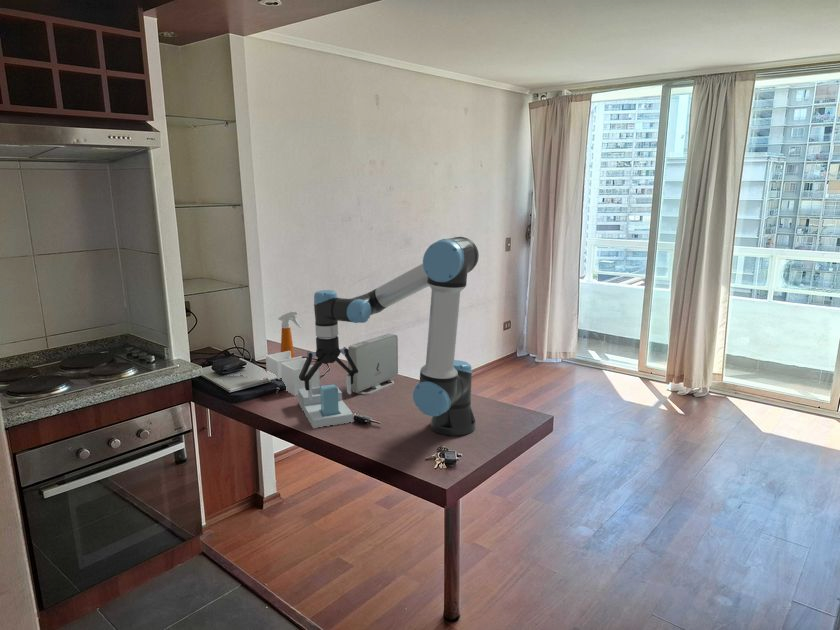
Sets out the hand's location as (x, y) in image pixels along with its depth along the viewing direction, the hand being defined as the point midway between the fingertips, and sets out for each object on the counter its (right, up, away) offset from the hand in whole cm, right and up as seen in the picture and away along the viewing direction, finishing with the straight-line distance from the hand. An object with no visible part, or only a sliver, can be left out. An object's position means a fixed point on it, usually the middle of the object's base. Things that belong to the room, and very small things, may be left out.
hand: (330, 396), depth 195 cm
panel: (-3, -7, +8) cm, 12 cm away
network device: (+12, -2, +35) cm, 37 cm away
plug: (0, -9, +2) cm, 9 cm away
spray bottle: (-27, +4, +59) cm, 65 cm away
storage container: (-21, -1, +38) cm, 43 cm away
